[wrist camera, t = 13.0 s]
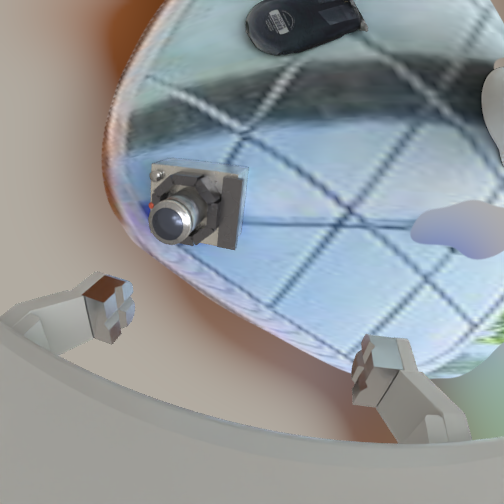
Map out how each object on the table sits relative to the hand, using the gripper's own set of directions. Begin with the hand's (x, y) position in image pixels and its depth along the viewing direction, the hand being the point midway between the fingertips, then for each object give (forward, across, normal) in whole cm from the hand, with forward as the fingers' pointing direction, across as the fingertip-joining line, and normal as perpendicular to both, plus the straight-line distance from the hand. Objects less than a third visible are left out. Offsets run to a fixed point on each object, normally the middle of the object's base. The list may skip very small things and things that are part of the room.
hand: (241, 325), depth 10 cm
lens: (+28, +13, +6) cm, 31 cm away
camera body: (+34, +13, +6) cm, 37 cm away
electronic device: (+35, +2, -21) cm, 41 cm away
